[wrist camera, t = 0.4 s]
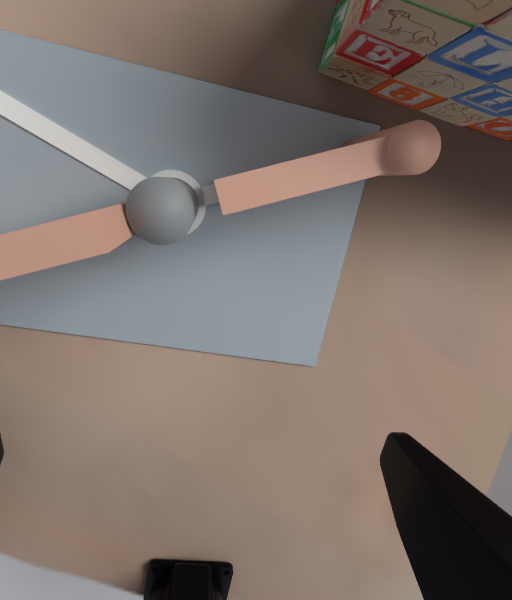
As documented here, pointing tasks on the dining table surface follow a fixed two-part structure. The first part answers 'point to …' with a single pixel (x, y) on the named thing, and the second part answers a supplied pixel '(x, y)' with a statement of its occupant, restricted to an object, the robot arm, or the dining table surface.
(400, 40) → the stack of blocks
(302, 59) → the dining table surface
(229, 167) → the board
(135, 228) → the fence panel
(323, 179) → the fixed fence section
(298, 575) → the dining table surface
